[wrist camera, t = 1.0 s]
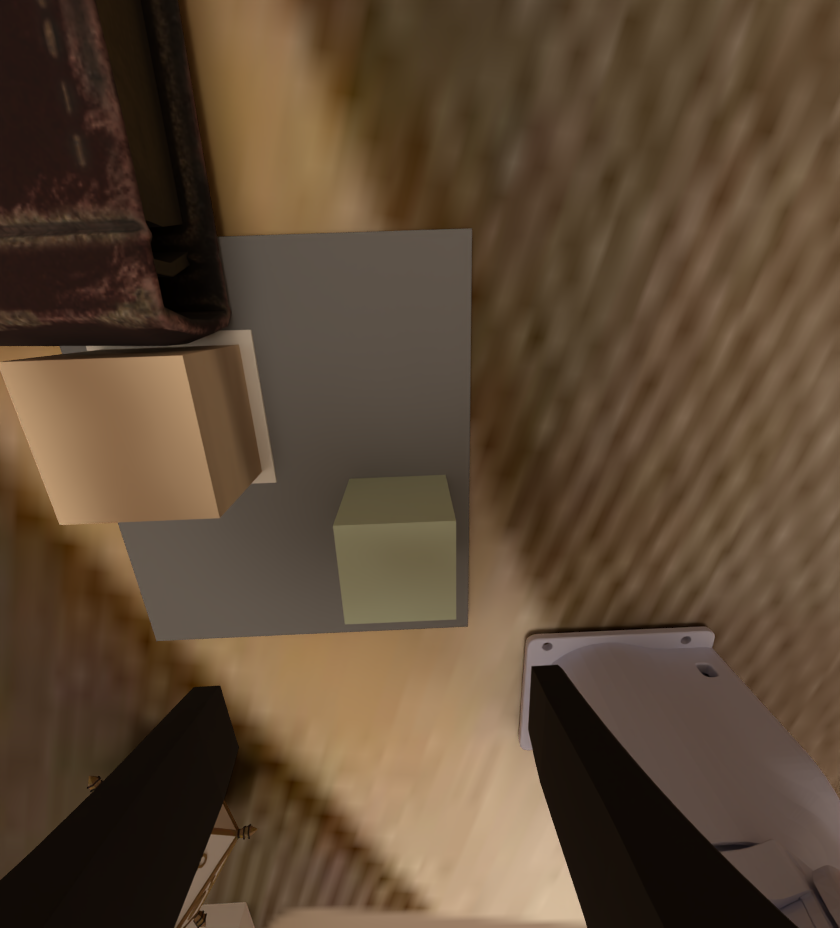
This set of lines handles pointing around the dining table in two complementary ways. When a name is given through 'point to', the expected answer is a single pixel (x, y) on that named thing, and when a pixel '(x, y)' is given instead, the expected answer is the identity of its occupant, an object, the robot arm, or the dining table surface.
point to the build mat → (321, 425)
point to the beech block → (138, 431)
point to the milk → (226, 916)
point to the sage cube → (396, 550)
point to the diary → (102, 179)
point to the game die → (205, 861)
